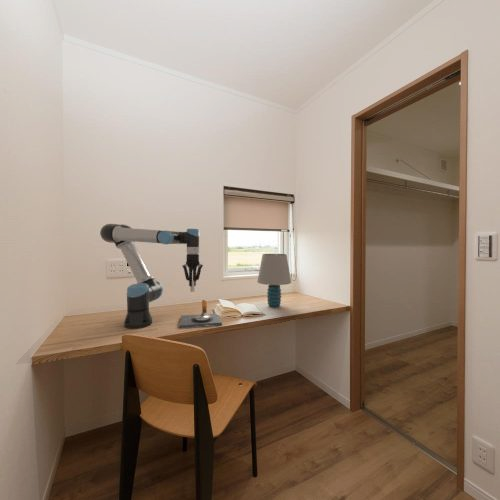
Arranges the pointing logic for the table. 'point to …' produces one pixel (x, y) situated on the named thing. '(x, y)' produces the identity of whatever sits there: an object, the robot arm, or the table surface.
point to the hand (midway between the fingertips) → (192, 291)
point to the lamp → (274, 276)
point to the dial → (203, 313)
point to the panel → (190, 322)
